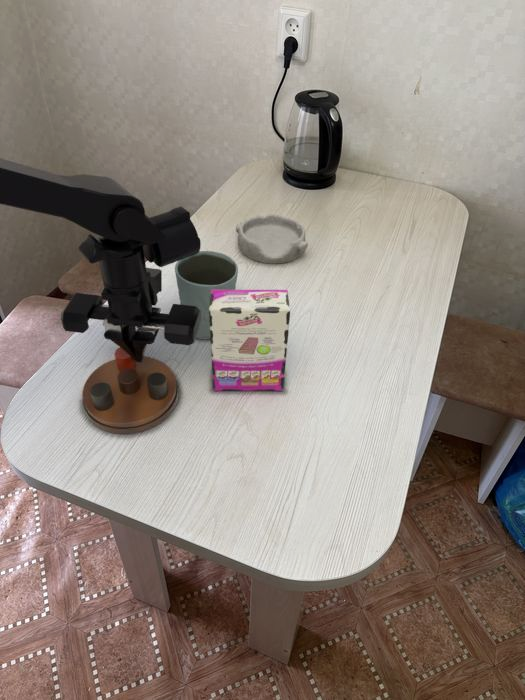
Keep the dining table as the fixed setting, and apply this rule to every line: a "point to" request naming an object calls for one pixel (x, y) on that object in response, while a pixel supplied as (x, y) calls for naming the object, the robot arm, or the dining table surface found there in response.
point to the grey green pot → (204, 282)
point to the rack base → (137, 428)
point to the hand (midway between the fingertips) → (140, 360)
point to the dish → (271, 238)
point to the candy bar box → (248, 339)
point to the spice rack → (129, 391)
